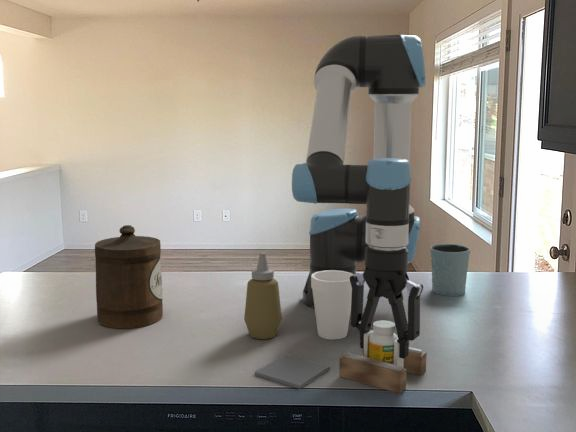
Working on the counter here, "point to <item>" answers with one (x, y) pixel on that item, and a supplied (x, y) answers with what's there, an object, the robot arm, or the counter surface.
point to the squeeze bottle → (262, 302)
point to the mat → (292, 371)
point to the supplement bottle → (382, 341)
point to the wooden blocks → (382, 370)
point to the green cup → (449, 268)
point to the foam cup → (332, 302)
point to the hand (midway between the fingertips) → (383, 369)
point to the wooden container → (128, 280)
